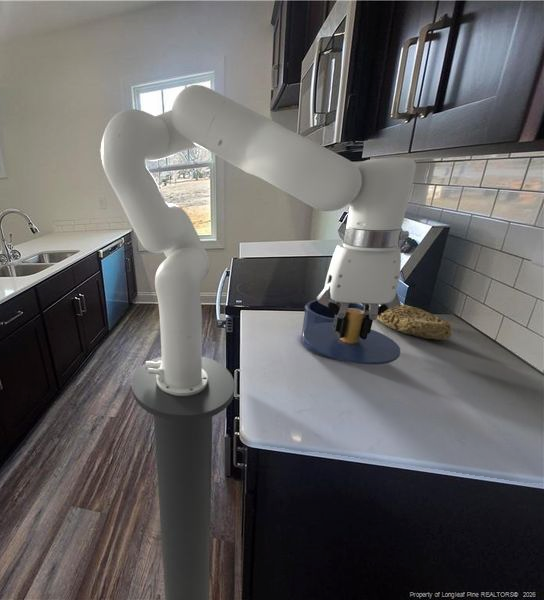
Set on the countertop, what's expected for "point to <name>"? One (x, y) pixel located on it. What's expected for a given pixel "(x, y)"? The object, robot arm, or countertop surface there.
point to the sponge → (415, 322)
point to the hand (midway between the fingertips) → (349, 334)
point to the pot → (320, 318)
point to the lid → (352, 342)
